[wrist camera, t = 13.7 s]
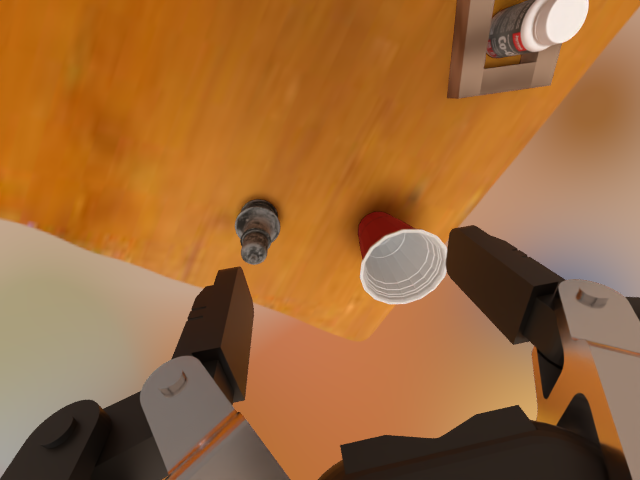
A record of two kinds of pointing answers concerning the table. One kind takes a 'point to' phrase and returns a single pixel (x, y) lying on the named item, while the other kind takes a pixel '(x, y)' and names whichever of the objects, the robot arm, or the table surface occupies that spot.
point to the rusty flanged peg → (257, 229)
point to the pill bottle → (535, 26)
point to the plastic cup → (399, 259)
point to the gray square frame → (471, 55)
